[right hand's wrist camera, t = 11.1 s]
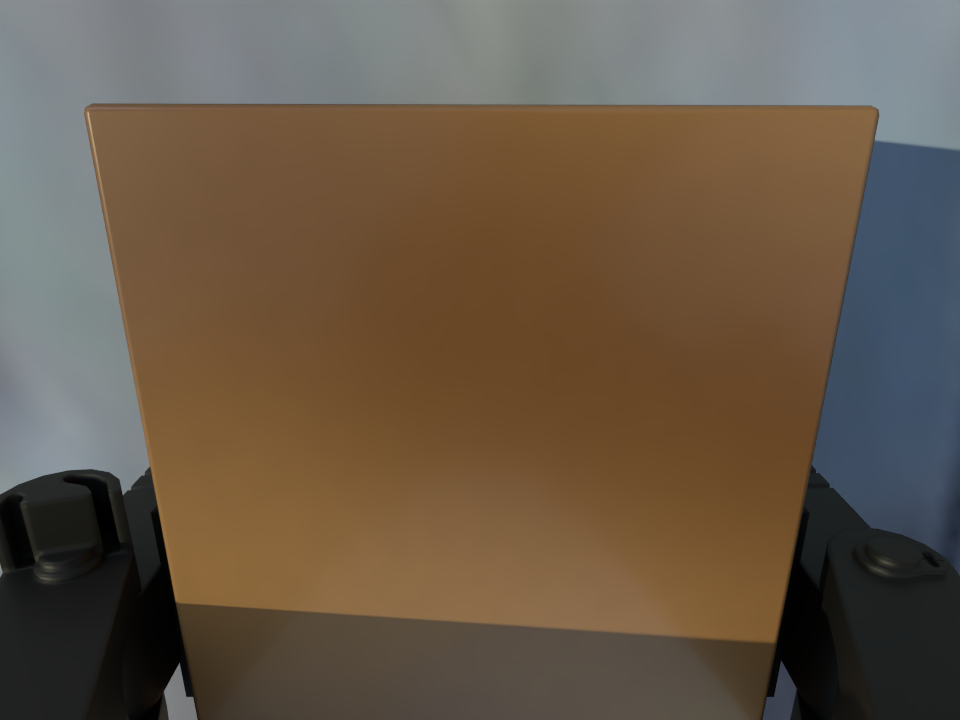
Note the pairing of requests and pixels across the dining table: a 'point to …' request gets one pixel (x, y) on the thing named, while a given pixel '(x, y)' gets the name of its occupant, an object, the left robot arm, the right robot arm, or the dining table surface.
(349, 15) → the dining table surface
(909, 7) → the dining table surface
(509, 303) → the bar
